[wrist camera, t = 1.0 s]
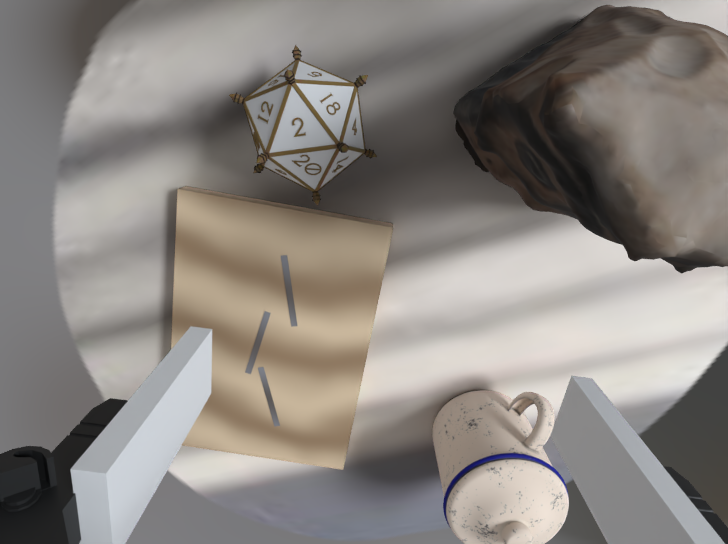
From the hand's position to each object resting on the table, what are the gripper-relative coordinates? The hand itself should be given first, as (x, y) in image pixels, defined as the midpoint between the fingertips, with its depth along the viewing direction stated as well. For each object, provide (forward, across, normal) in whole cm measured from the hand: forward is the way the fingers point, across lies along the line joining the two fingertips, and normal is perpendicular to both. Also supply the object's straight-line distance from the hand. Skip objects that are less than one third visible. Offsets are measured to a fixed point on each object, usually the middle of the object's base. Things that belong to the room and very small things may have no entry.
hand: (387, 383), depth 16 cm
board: (+19, -8, -10) cm, 23 cm away
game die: (+20, -6, +8) cm, 22 cm away
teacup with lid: (+20, +12, -15) cm, 28 cm away
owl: (+20, +11, +11) cm, 26 cm away
